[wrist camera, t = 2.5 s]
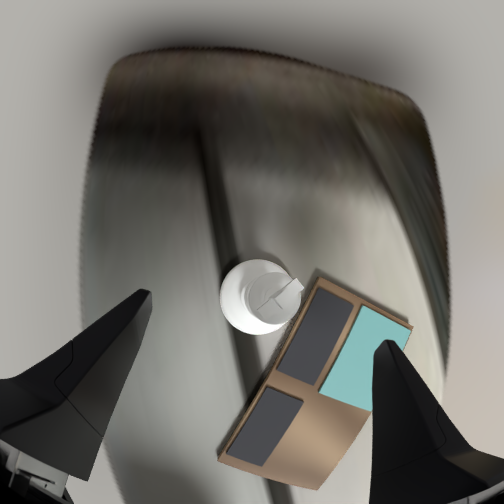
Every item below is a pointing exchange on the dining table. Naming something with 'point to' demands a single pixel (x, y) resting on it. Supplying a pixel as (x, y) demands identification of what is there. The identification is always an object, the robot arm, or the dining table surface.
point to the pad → (361, 358)
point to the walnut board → (310, 413)
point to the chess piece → (259, 296)
